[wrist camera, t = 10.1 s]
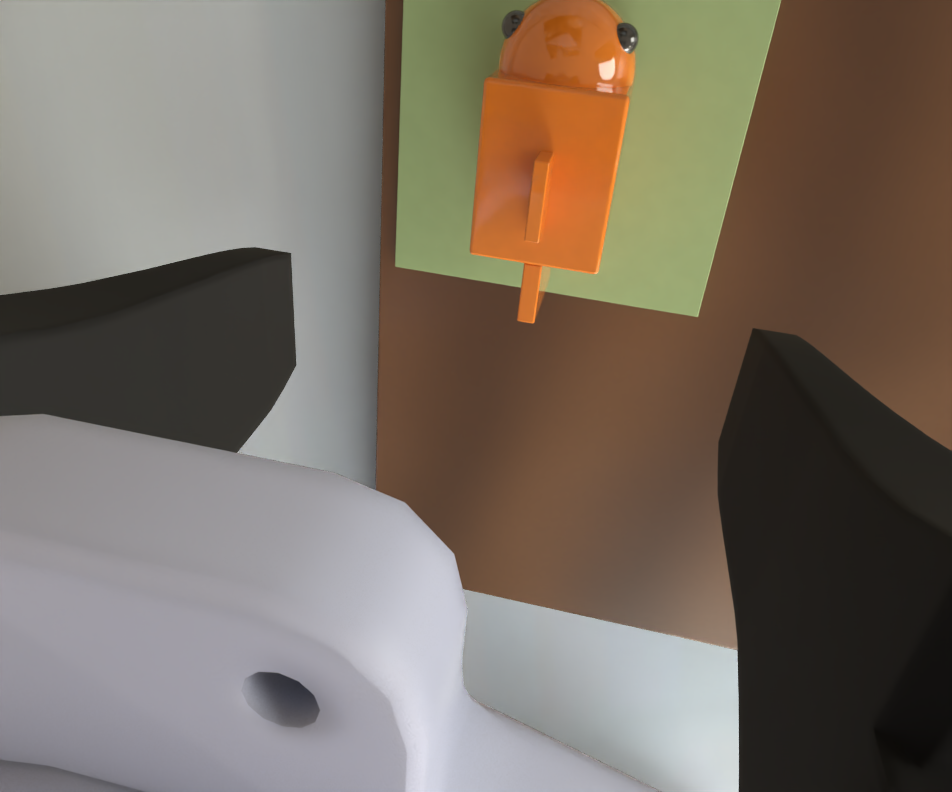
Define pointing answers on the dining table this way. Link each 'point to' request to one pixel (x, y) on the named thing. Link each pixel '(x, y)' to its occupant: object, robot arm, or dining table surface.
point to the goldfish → (552, 140)
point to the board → (680, 335)
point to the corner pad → (643, 155)
